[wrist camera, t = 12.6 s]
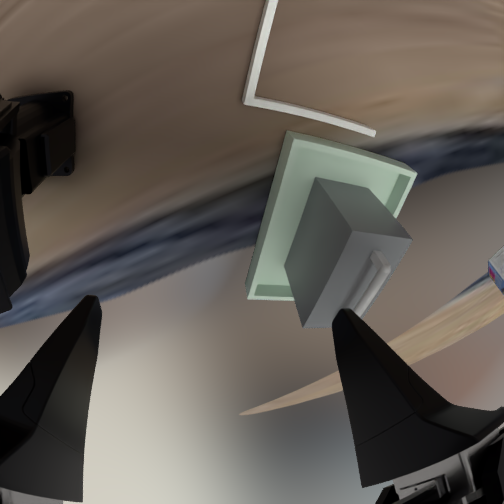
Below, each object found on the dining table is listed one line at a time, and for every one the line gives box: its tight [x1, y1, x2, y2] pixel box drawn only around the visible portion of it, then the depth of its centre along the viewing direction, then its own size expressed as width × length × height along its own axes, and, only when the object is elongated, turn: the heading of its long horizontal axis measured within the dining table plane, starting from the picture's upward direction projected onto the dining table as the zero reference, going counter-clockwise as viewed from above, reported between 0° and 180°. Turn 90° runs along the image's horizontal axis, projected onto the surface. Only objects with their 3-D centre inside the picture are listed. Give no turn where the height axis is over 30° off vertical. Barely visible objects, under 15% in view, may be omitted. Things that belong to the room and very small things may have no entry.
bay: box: [242, 0, 376, 137], centre depth 13 cm, size 10×14×2 cm
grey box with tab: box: [284, 177, 413, 328], centre depth 21 cm, size 5×9×9 cm, turn 168°
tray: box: [245, 130, 417, 301], centre depth 24 cm, size 11×15×2 cm
